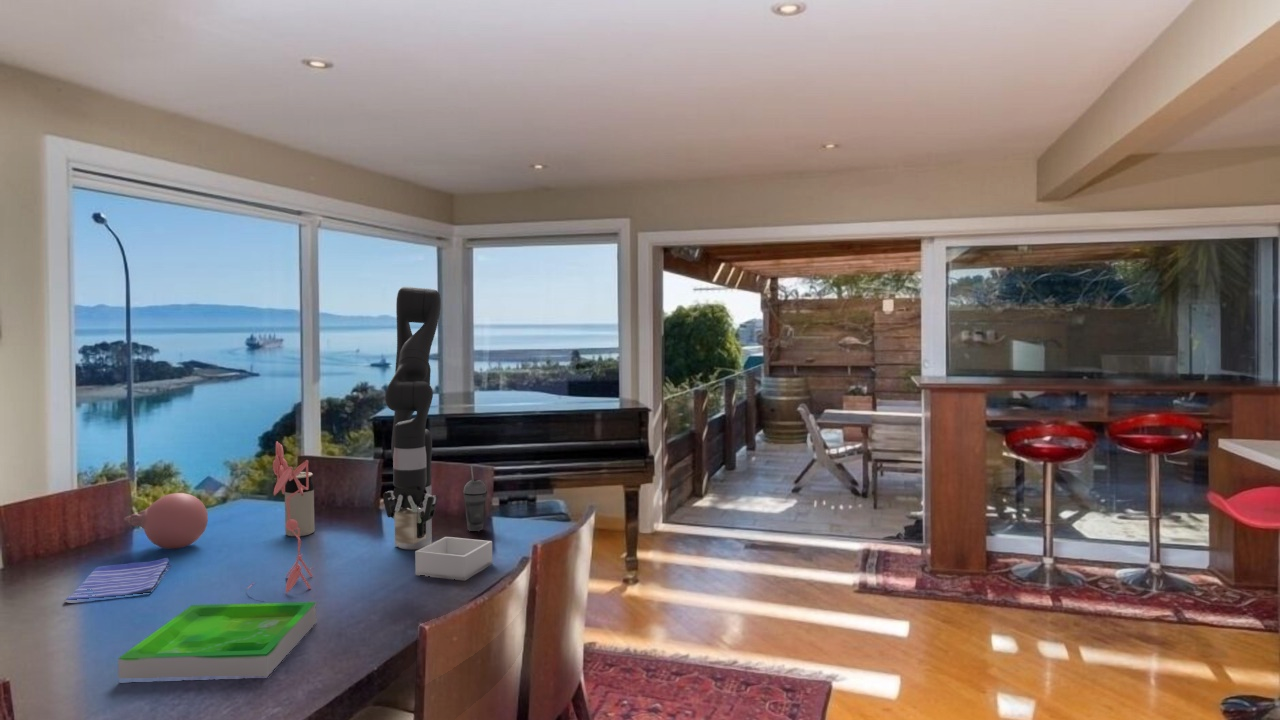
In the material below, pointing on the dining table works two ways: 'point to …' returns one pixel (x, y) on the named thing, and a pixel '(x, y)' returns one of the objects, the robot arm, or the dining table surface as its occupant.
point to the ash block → (406, 527)
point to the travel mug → (300, 505)
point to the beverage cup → (475, 503)
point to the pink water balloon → (172, 520)
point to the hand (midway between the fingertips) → (410, 536)
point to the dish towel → (122, 579)
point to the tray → (220, 641)
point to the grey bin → (453, 558)
